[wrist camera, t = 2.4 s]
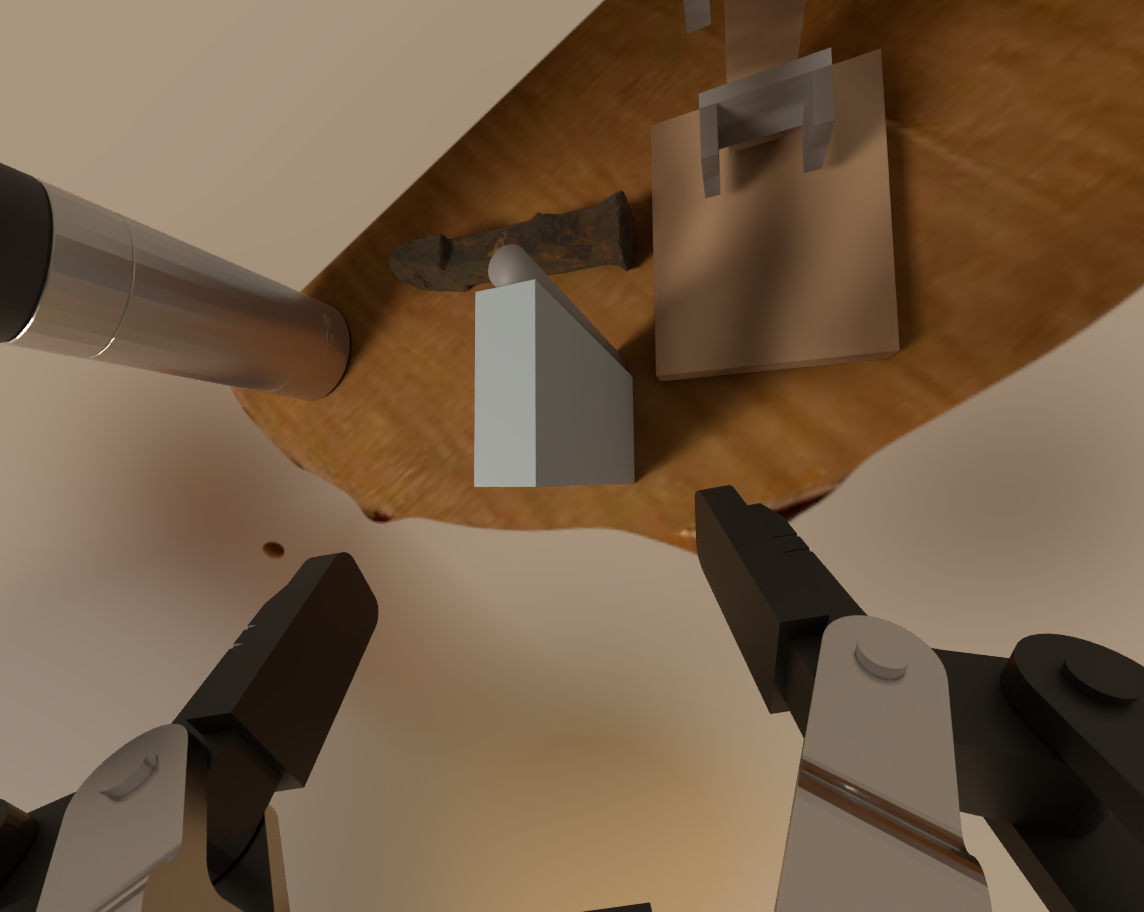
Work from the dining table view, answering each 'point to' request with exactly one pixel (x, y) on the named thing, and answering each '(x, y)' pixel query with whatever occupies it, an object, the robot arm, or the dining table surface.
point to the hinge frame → (773, 208)
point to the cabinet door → (545, 386)
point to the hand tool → (543, 238)
